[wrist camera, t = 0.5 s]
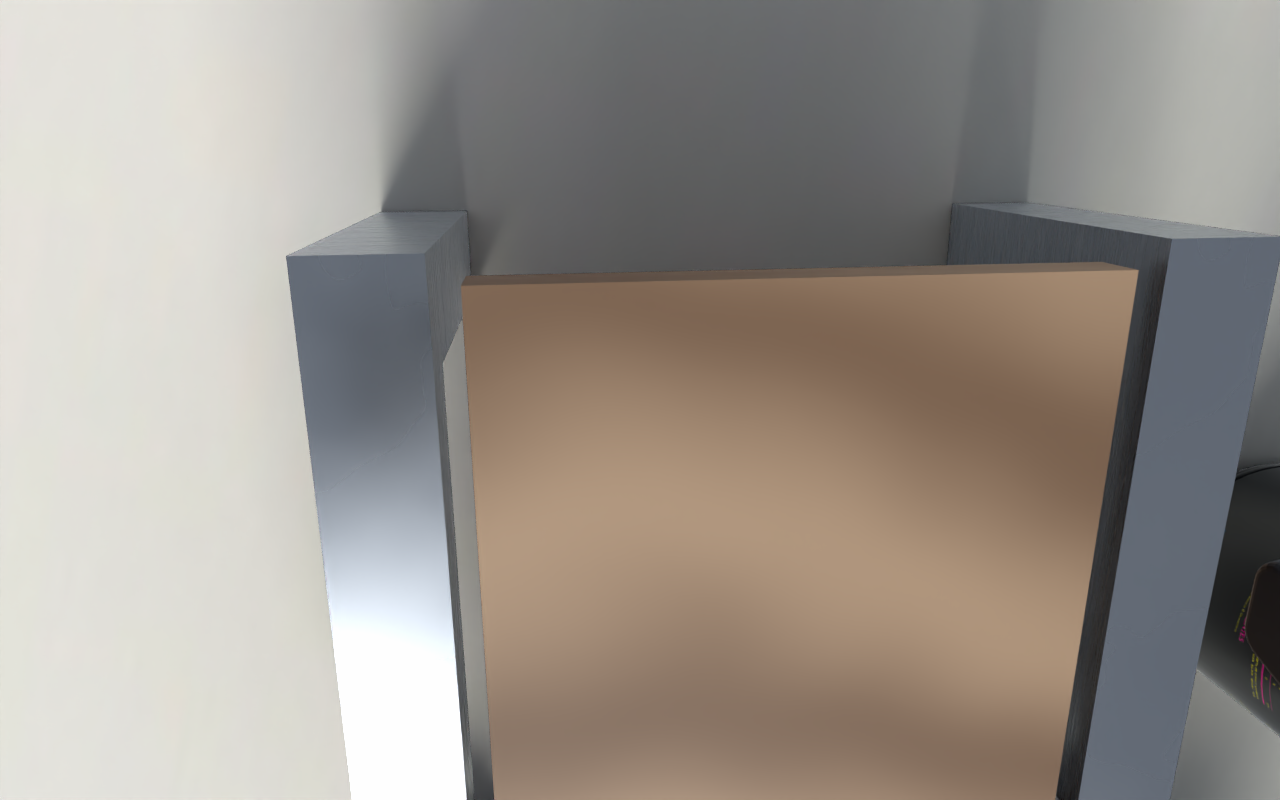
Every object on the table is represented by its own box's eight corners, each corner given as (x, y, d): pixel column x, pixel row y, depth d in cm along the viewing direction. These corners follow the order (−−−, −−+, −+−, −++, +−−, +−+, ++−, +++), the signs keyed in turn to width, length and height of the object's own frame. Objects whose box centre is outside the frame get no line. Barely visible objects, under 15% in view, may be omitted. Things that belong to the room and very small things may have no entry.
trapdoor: (912, 877, 25) (1011, 1074, 20) (521, 914, 24) (516, 1135, 18) (979, 234, 20) (1138, 270, 14) (482, 244, 19) (460, 285, 13)
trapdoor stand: (959, 830, 28) (1126, 1106, 20) (433, 879, 26) (386, 1201, 18) (1035, 202, 22) (1310, 237, 14) (371, 212, 20) (265, 258, 13)
